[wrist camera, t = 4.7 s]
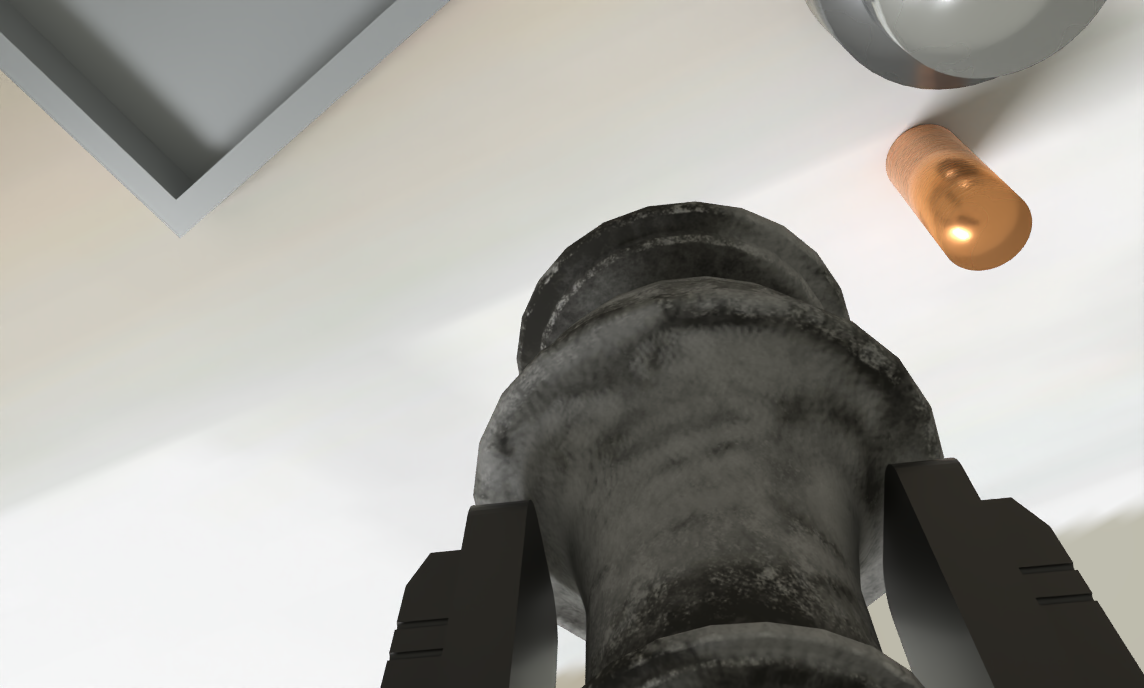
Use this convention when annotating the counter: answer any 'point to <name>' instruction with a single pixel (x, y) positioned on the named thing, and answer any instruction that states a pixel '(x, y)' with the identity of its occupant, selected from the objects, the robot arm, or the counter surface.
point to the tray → (194, 81)
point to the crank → (981, 31)
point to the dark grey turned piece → (706, 455)
